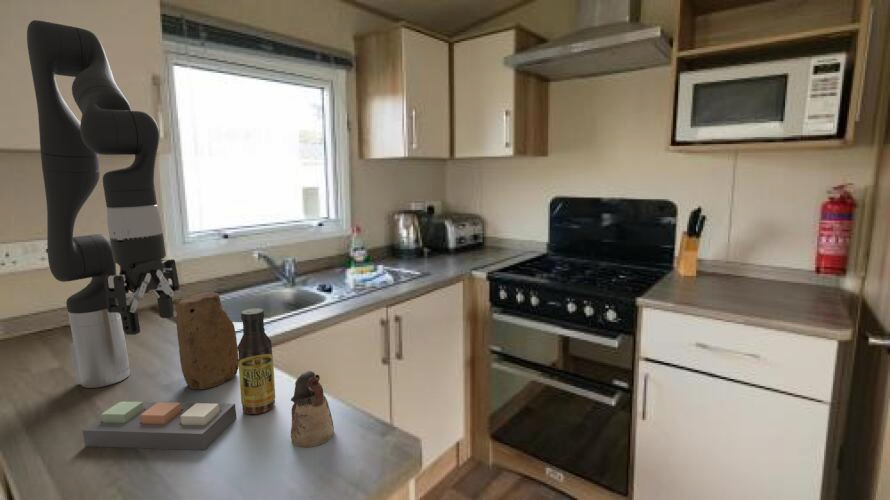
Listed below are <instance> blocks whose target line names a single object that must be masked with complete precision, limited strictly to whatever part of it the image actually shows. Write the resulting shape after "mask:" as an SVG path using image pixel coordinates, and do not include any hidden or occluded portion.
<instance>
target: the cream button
mask: <svg viewBox="0 0 890 500" xmlns="http://www.w3.org/2000/svg"><path fill="white" fill-rule="evenodd" d="M195 403H196V404H195V405H193V406H192V407H191V408H190V409H188V410H187V411H186V412H185V413H183V414H182V415H181V416H180V417H181V424H182V425H207V424H208V423H209V422H210V421H211V420H212V419H213V418H215V417H216V416H217V415H218V414H219V413H220V409H219V404H210V403H211V402H195Z"/></svg>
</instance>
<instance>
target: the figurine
mask: <svg viewBox="0 0 890 500" xmlns="http://www.w3.org/2000/svg"><path fill="white" fill-rule="evenodd" d="M320 379H321V376H320V374H318V373H315V372H313V371H312V370H306V371H304V372H303V373H301V374H300V375H299V376H298V377H297V378H296V380H295V383H294V385H295V386H294V393H293V396H292V397H291V398H290V401H291V402H293V405H292V406H291V412H290V413H291V428H290V439H291V442H292V444H293V445H294V446H296V447H300V448H311V447H312V448H313V447H317V446H321V445H323V444H325V443H326V442H328V441H329V440H330V439H331V438H332V437H333V434H334V429H335V425H334V420H333V416H332V413H331V409H330V406H329V402H328V399H327V398H326V395H325V394H324V389H323V385H322V384H321V383H320V382H319V381H320Z"/></svg>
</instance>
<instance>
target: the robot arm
mask: <svg viewBox="0 0 890 500" xmlns="http://www.w3.org/2000/svg"><path fill="white" fill-rule="evenodd" d="M26 44H27V51H28V58H29V63H30V70H31V75H32V76H31V77H32V82H33V88H34V93H35V99H36V105H37V115H38V116H37V118H38V131H39V149H40V151H39V152H40V159H41V168H42V170H41V171H42V177H43V184H44V192H45V197H46V198H45V200H46V212H47V214H46V215H47V221H46V222H47V224H46V225H47V229H46V230H47V231H46V232H47V233H46V235H47V238H46V240H47V242H46V244H47V245H46V246H47V259H48V266H49V269H50V272H51V274H52V276H53V277H54V279H55V280H57V281H58V282H63V283H65V282H74V281H78V280H83V279H90V278H91V280H90V282H89V283H88V284H87V285H86V286H85V287H84V288H82V289H81V290H79V291H78V292H75V293H73V294H71V295H70V296H69V297H68V298H67V299H66V302H65V305H66V310H67V313H68V314H67V315H68V319H69V320H68V321H69V325H70V330H71V336H72V343H70V345H69V348H70V352H71V360H72V364H73V371H74V374H75V380H76V385H80V386H81V387H83V388H87V389H93V388H101V387H102V388H103V387H107V386H110V385H114V384H117V383H119V382H121V381H123V380H125V379H127V378H128V377H129V376H130V375H131V369H130V364H129V363H130V362H129V355H128V349H127V344H126V339H125V335H131V336H132V335H133V336H135V335H138V334H140V333H141V327H140V319H139V314H138V311H137V308H138V305H139V303H140V301H141V300H143V298H144V296H145V294H147V293H149V292H150V291H152V292H153V293H154V294H155V296H156V297H158V298H156V300H157V307H158V312H159V317H160V318H161V319H170V318H172V317H173V316H174V315H175V314H174V303H173V297H174V294H175V292H177V291H179V290H180V282H179V275H178V271H177V264H176V261H175V259H165V258H166V255H167V251H166V246H165V245H166V244H165V239H164V232H163V225H162V218H161V214H160V211H159V207H158V202H157V195H156V186H155V167H156V166H155V165H156V159H157V153H158V150H159V146H160V145H159V144H160V137H161V136H160V135H161V134H160V128H159V125H158V123H157V120H155V118H154V117H153V116H152V115H151V114H150V113H147V112H146V111H142V110H140V111H139V110H132V107H131V105H130V103H129V101H128V100H127V98H126V97H125V94H124V93H123V92H122V91H121V89H120V88H119V87H118V85H117V83H116V81H115V79H114V78H115V77H114V75H113V72H112V68H111V67H110V63H109V60H108V58H107V55H106V51H105V48H104V46H103V44H102V42H101V41H100V39H99V37H98V36H97V35H96V34H95V33H93V31H90V30H88V29H85V28H81V27H76V26H71V25H67V24H66V25H65V24H60V23H56V22H55V23H54V22H50V21H45V20H39V19H38V20H37V19H36V20H35V19H34V20H31V21H30V22H29V23H28V26H27V31H26ZM56 75H57V76H62V77H63V76H64V77H72V78H74V79H73V82H72V84H71V92H72V93H71V95H72V97H73V100H74V102H75V104H76V105H77V107H78V109H79V111H80V112H81V114H82V115H81V119H80V120H79V119H78V118H77V116H76V115H75V114H74V112H73V111H72V110H71V109H70V107H69V105H68V104H67V103H66V101H65V99H64V98H63V95H62V94H61V91H60V89H59V86H58V83H57V80H56ZM99 155H107V156H108V155H109V156H110V155H111V156H112V155H113V156H114V155H115V156H116V155H121V156H122V155H125V156H126V155H132V156H133V155H134V156H135V157H134V160H133V162H132V164H131V165H129V166H127V167H124V168H118V169H113V170H110V171H107V172H105V173H104V174H103V176H102V185H103V193H104V198H105V206H106V212H107V213H106V214H107V215H106V216H107V217H106V221H107V222H106V223H107V228H108V234H109V237H107V235H104V234H98V233H97V234H89V235H80V236H74V229H75V223H76V220H77V217H78V215H79V213H80V211H81V209H82V208H83V206H84V205H85V203H86V202H87V200H88V199H89V197H90V196H91V195H92V193H93V192H94V190H95V188H96V187H97V185H98V183H99V180H100V176H101V173H100V172H101V171H100V158H99V157H100V156H99ZM116 265H118V266H119V273H118V274H117V266H116ZM169 280H171V284H170V281H169ZM129 292H131V293H129ZM129 301H130V302H129ZM128 302H129V305H128Z"/></svg>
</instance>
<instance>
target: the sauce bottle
mask: <svg viewBox="0 0 890 500" xmlns="http://www.w3.org/2000/svg"><path fill="white" fill-rule="evenodd" d="M240 315H241V316H240V318H241V321H242V329H243V331H242V337H241V339H240V341H239V343H238V344H237V347H238V359H239V360H238V363H239V367H238V376H239V389H240V403H241V405H242V406H241V407H242V411H243V412H244V414H248V415H260V414H263V413H265V412H269V411H271V410H272V409H273V408H274V406H275V404H276V389H275V386H276V385H275V370H274V356H273V347H272V340H271V339H270V337H269V336H268V335H267V333H266V328H265V322H264V318H265V310H264V309H263V308H259V307H257V308H247V309H245V310H242V311H241V313H240Z"/></svg>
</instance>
